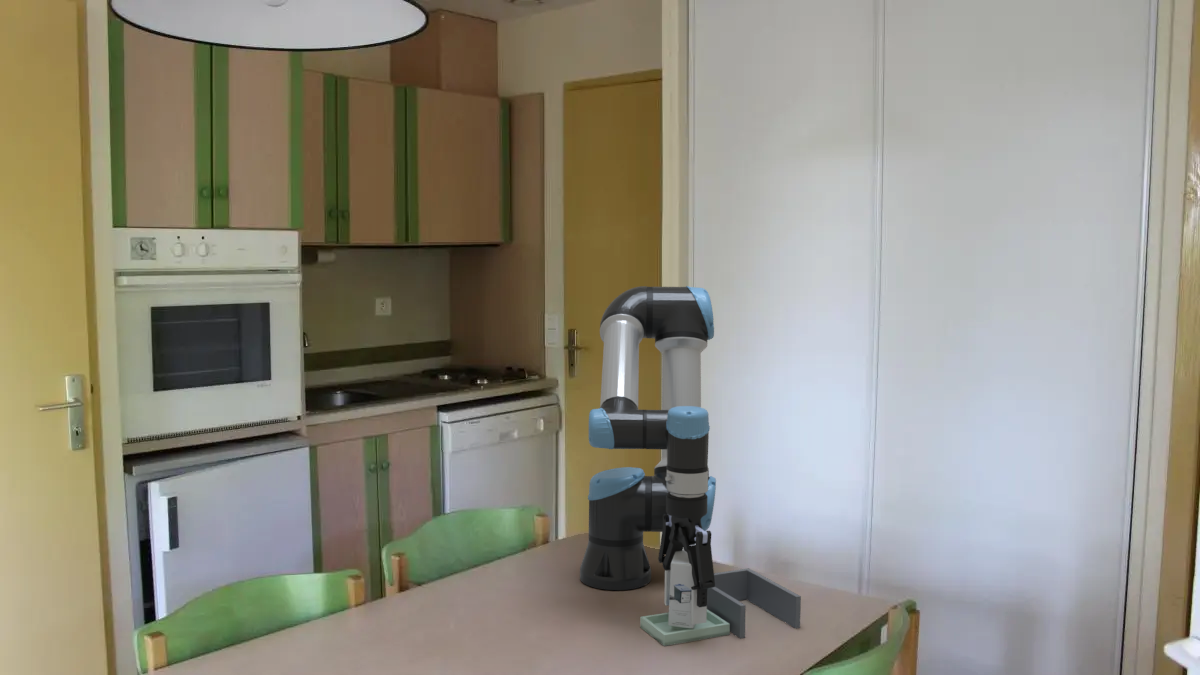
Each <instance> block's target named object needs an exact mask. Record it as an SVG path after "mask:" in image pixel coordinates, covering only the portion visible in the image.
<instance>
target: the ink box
mask: <svg viewBox="0 0 1200 675" xmlns="http://www.w3.org/2000/svg"><path fill="white" fill-rule="evenodd" d="M693 586H694V582H693V577H692V566H691V564H690V563H689V559H688V554H687V552H686V551H685V550H684V549H683V550H682V551H676V552H675V554H674V557H673V559H672V562H671V572H670V597H669V605H668V612H669V619H668V625H669V626H676V627H684V628H694V626H695V624H694V625H693V624H691V596H692V589H691V587H693Z"/></svg>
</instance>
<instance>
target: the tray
mask: <svg viewBox="0 0 1200 675" xmlns="http://www.w3.org/2000/svg"><path fill="white" fill-rule="evenodd" d="M639 618H640V622H639V623H640V625H639V626H640V627H639V628H641V630H643V631H644V632H646V633H647V634H648V635H649V636H651V638H653V639H654V640H656V642H659V644H661V645H662V646H664V647H667V646H675V645H678V644H684V643H690V642H696V641H701V640H706V639H712V638H718V637H723V636H729V635H730V634H731V632H730V624H729V623H728V622H726V621H725V620H723V619H721V618H720V617H718V616H717V615H715V614H714V613H712V612H711V611H709V610H708V609H707V615H706V623H700V624H695V626H694V628H684V627H676V626H669V625H668V619H669V611H668V612H663V613H661V612H660V613H655V614H649V615H643V616H640V617H639Z"/></svg>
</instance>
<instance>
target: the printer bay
mask: <svg viewBox="0 0 1200 675" xmlns="http://www.w3.org/2000/svg"><path fill="white" fill-rule="evenodd" d="M714 579H715V587H713V588H708V589H707V609H708V610H709V611H711V612H712V613H714V614H715V615H717V616H718V617H720V618H721V619H723V620H725V621H726V622H728V623H729V624H730V634H732V635H734V636H736V637H737V638H739V639H740V640H741V639H745V638H746V611H747V610H746V608H747V606H746V604H744V603H742V602H741V601H746V600H747V602H749V603H752V604H753V605H755V606H756V607H758V608H759V609H762V610H763V609H764V612H767V613H768V612H769V614H770V613H771V616H773V615H774V616H773V617H775V618H777V619H779V620H780V621H782V622H783V623H785V622H786V624H787V625H789V626H790V625H791V626H790V627H792V628H793V629H795V628H796V629H800V628H801V608H802V607H801V606H802V602H801V601H802V596H801V595H799V594H797V593H796V592H794V591H792V590H790V589H788V588H786V587H785V586H782V585H781V584H780V583H776V581H773V580H771V579H769V578H767V577H766V576H764V575H762V574H760V573H758V572H756V571H755V570H753V569H751V568H741V569H735V570H734V569H733V570H727V571H721V572H714Z"/></svg>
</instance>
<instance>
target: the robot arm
mask: <svg viewBox="0 0 1200 675" xmlns="http://www.w3.org/2000/svg"><path fill="white" fill-rule="evenodd" d="M714 322H715V321H714V312H713V304H712V300H711V296H710V293H709V292H708V290H707V289H705V288H703V287H696V286H688V285H686V286H647V285H646V286H643V285H641V286H636V287H632V288H629V289H627V290H625V291H624V292H622V293H620V294H619V295H618V296H617V297H615V298H614V299H613V300H612V301H611V302H610V303H609V305H608V306H607V307H606V309H605V310H604V311H603V314H602V317H601V320H600V325H599V336H600V339H601V341H602V343H603V352H602V355H603V356H602V369H601V370H602V371H601V387H600V389H601V390H600V402H599V403H600V404H599V405H600V406H599V407H598V408H593V409H591V410H590V411H589V415H588V443H589V445H590V446H591V447H593V448H598V449H607V450H661V459H660V461H659V462H658V463H657V464H656V465H655V466H654V468H653V472H654V473H653V474H654V475H646V473H645V472H644V469H642V468H640V467H632V466H625V467H615V468H610V469H606V470H602V471H599V472H597V473H596V474H594V475H593V476H592V477H591V478H590V480H589V486H588V487H589V488H588V495H587V500H588V541H587V546H586V548H585V549H586V550H585V551H584V555H583V558H582V561H581V564H580V567H579V580H580V581H581V583H583V584H584V585H587V586H589V587H591V588H595V589H601V590H607V591H626V590H634V589H638V588H642V587H645V586H647V585H648V584H650V582H651V581H652V569H651V568H652V567H651V564H650V562H649V559H648V555H647V552H646V548H645V545H644V533H646V532H647V533H648V532H651V533H652V532H653V533H655V532H656V533H661V536H660V538H661V539H660V546H659V550H658V552H659V553H658V563H659V564H662V568H663V570H664V600H663V601H664V605H665V606H668V607H669V597H670V572H671V562H672V559H673V557H674V554H675V552H676V551H682V550H685V551H686V552H687V554H688V559H689V563H690V564H691V566H692V577H693V582H694V586H693V587H691V589H692V596H691V624H693V625H694V624H700V623H706V615H707V589H708V588H713V587H715V579H714V573H715V572H714V562H713V554H712V553H713V552H712V545H711V544H712V531H711V530H708V529H709V528H710V526H711V523H712V519H713V512H714V507H715V506H714V505H715V500H716V488H717V486H716V485H717V480H716V477H714V476H712V475H710V473H709V472H710V470H709V465H708V462H709V438H710V437H709V433H710V429H711V428H710V427H711V426H710V422H709V421H710V419H709V417H710V416H709V412H708V410H707V409H706V408H703V407H702V375H701V374H702V373H701V372H702V371H701V370H702V368H701V367H702V361H701V359H702V355H701V354H702V352H704V351H705V349H707V347H708V341H710V340H712V339H713V338H714V337H715V325H714ZM643 339H654V347H655V348H656V349H657V351H659V353H660V354H661V409H639V388H640V387H639V384H640V382H639V374H640V373H639V370H640V368H639V367H640V366H639V365H640V359H639V358H640V343H641V342H642V340H643Z"/></svg>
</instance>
